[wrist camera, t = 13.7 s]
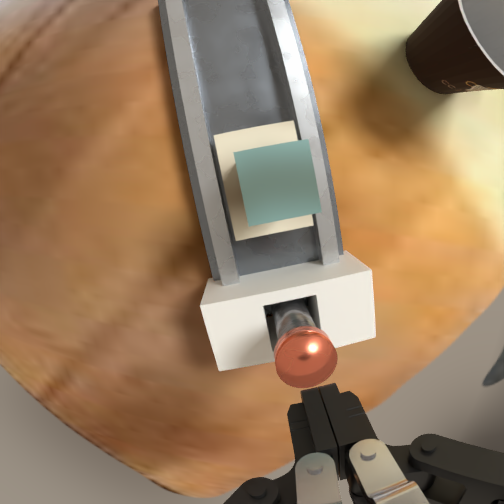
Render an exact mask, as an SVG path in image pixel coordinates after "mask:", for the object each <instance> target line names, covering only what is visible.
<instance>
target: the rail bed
mask: <svg viewBox="0 0 504 504" xmlns="http://www.w3.org/2000/svg"><path fill="white" fill-rule="evenodd" d="M158 4H159V11H160V18H161V24H162V31H163V37H164V43H165V50H166V56H167V62H168V67H169V73H170V79H171V85H172V90H173V96H174V101H175V106H176V112H177V117H178V122H179V127H180V133H181V138H182V143H183V148H184V152H185V157H186V162H187V167H188V172H189V176H190V181H191V186H192V190H193V195H194V200H195V204H196V209H197V213H198V217H199V222H200V226H201V231H202V235H203V239H204V243H205V248H206V252H207V256H208V260H209V264H210V269H211V273H212V277H213V281H218V280H221V281H222V285H223V286H227V285H232V284H237V283H240V276H243V275H248V274H253V273H258V272H263V271H268V270H272V269H277V268H282V267H287V266H292V265H297V264H301V263H306V262H311V261H316V260H319V261H320V262H321V263H322V264H323V265H329V264H333V263H338V262H340V260H339V255H344V253H343V246H342V238H341V231H340V224H339V218H338V211H337V205H336V199H335V193H334V187H333V181H332V176H331V170H330V165H329V159H328V154H327V149H326V144H325V139H324V134H323V130H322V125H321V120H320V116H319V111H318V107H317V103H316V98H315V94H314V90H313V86H312V82H311V78H310V74H309V70H308V66H307V62H306V59H305V55H304V51H303V48H302V44H301V40H300V37H299V33H298V30H297V27H296V23H295V20H294V17H293V13H292V10H291V7H290V4H289V1H288V0H158ZM293 120H294V125H295V129H296V134H297V139H298V140H305V139H308V140H309V145H310V150H311V155H312V160H313V165H314V171H315V176H316V181H317V187H318V192H319V198H320V204H321V210H322V212H321V213H316V214H312V218H313V224H314V225H313V226H308V227H303V228H298V229H293V230H288V231H283V232H278V233H273V234H268V235H263V236H258V237H254V238H249V239H244V240H239V241H236V240H235V235H234V230H233V226H232V221H231V216H230V212H229V207H228V202H227V198H226V193H225V188H224V184H223V179H222V174H221V169H220V164H219V160H218V155H217V150H216V145H215V140H214V135H218V134H222V133H227V132H232V131H237V130H242V129H247V128H252V127H257V126H263V125H269V124H274V123H281V122H287V121H293ZM303 301H304V303H305V305H306V306H308V299H307V297H303ZM264 309H265V314H266V315H267V314H272V310H271V305H265V306H264Z"/></svg>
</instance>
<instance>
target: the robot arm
mask: <svg viewBox="0 0 504 504" xmlns="http://www.w3.org/2000/svg"><path fill="white" fill-rule="evenodd" d="M301 398H302V403H297V404H292V405H290V408H289V410H288V413H287V416H288V421H289V427H290V432H291V438H292V443H293V449H294V454H295V464H294V466H293V468H292V469H291V470H290V471H289V472H288V473H287V474H285V475H283V476H282V477H279V478H277V479H275V480H270V479H268V478H264V477H258V478H252V479H250V480H248V481H246V482H244V483H243V484H242V485H241V486H240V487H239V488H238V489H237V490H236V491H235V492H234V493H233V494H232V495H231V497H230V498H229V499H228V500H227V501H226V502H225V503H224V504H342V501H341V495H340V489H339V484H338V480H339V477H340V480H343V479H347V481H348V484H349V494H350V497H351V499H352V501H353V504H504V453H501V452H497V451H493V450H489V449H485V448H481V447H478V446H474V445H470V444H466V443H463V442H459V441H456V440H452V439H449V438H446V437H442V436H439V435H436V434H424V435H421V436H419V437H418V438H416V439H415V440H414V441H413V442H412V443H411V445H404V446H390V445H386V444H384V443H383V442H381V441H380V440H379V439H378V438H377V436H376V434H375V432H374V430H373V428H372V426H371V424H370V422H369V420H368V417H367V415H366V414H365V411H364V409H363V407H362V405H361V403H360V401H359V399H358V397H357V396H356V395H354V394H353V393H352V392H350V391H347V392H344V393H340V392H339V390H338V388H337V385H336V383H332V384H328V385H324V386H320V387H318V388H317V387H316V388H311V389H307V390H302V391H301ZM338 474H339V476H338Z"/></svg>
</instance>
